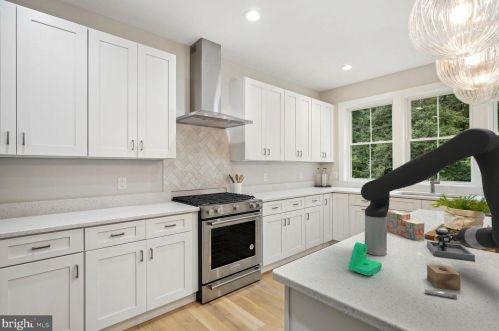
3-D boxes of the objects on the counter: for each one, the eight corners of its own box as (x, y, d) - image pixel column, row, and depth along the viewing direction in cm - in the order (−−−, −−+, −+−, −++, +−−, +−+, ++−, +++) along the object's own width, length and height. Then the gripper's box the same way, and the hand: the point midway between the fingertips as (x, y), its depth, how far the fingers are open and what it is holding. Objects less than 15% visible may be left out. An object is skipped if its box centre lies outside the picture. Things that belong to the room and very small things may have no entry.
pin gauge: (425, 294, 80) (425, 290, 80) (424, 292, 82) (424, 288, 82) (456, 299, 77) (456, 295, 77) (455, 297, 78) (455, 293, 78)
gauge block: (436, 287, 85) (436, 272, 85) (427, 277, 92) (427, 264, 91) (460, 289, 83) (460, 274, 83) (449, 280, 90) (449, 266, 90)
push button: (446, 254, 113) (446, 232, 113) (432, 250, 117) (432, 229, 117) (450, 250, 117) (451, 229, 117) (437, 247, 122) (437, 227, 121)
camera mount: (368, 278, 91) (368, 250, 91) (348, 271, 97) (348, 245, 97) (382, 269, 99) (382, 243, 99) (363, 263, 105) (363, 239, 105)
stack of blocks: (424, 240, 136) (424, 217, 135) (414, 241, 134) (415, 218, 134) (394, 229, 157) (394, 210, 156) (385, 230, 155) (385, 210, 155)
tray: (434, 256, 112) (434, 250, 112) (427, 245, 126) (427, 241, 126) (474, 261, 107) (474, 255, 107) (462, 249, 120) (462, 244, 120)
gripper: (493, 224, 92) (463, 226, 108) (452, 229, 94) (428, 230, 109) (501, 246, 90) (469, 244, 106) (459, 250, 92) (433, 248, 107)
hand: (448, 237), depth 108 cm, fingers open, 8 cm apart
